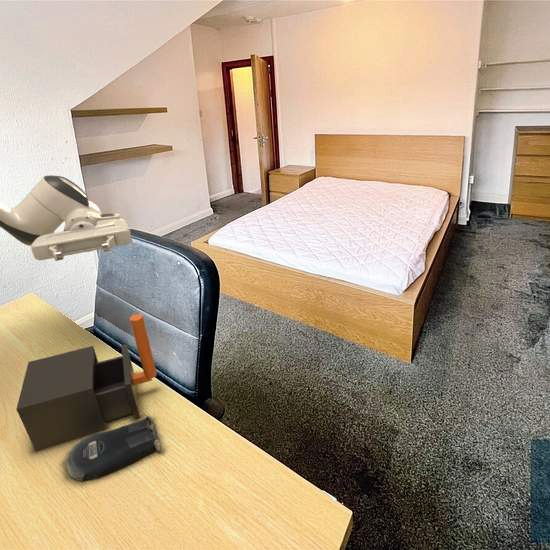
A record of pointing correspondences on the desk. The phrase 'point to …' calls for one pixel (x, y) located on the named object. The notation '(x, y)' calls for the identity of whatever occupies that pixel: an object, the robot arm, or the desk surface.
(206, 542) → the desk surface
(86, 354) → the brown drawer cube
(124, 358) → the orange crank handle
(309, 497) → the desk surface
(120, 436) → the electronic device
